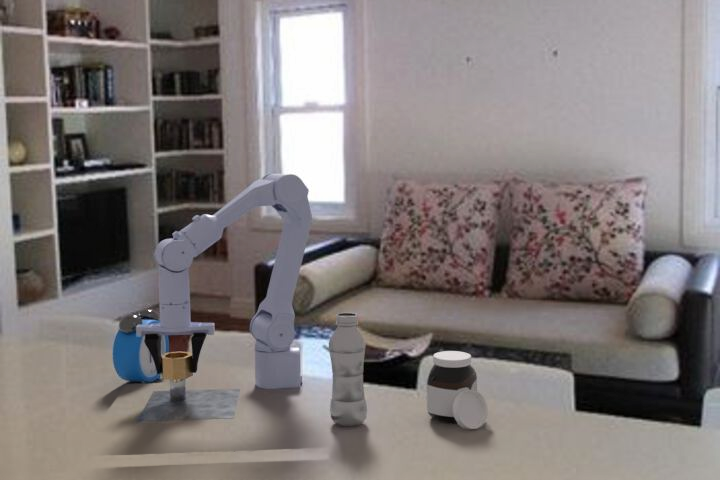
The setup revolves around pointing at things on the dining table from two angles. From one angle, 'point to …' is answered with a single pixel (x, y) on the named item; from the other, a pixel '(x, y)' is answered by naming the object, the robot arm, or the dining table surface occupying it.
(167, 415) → the plate
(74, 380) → the dining table surface
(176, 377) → the wooden octagonal tube
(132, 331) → the alarm clock
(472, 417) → the spread jar
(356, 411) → the plastic bottle
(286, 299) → the robot arm
